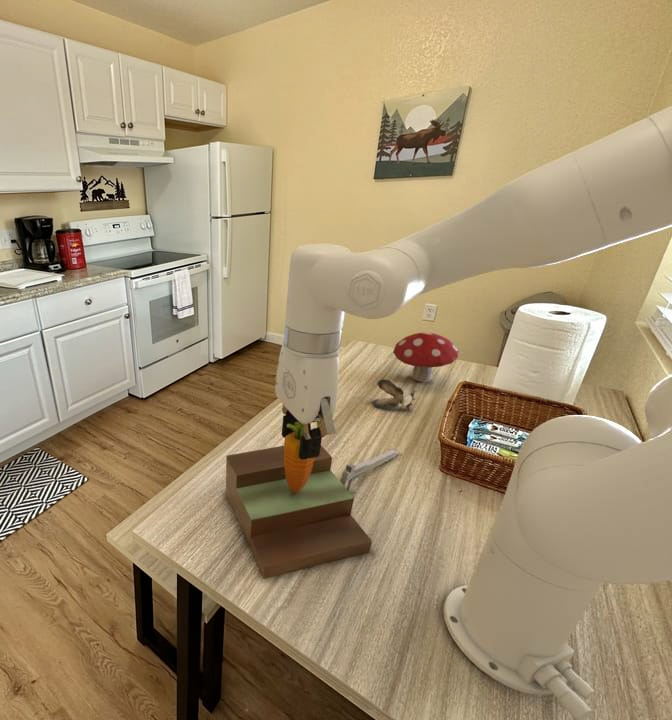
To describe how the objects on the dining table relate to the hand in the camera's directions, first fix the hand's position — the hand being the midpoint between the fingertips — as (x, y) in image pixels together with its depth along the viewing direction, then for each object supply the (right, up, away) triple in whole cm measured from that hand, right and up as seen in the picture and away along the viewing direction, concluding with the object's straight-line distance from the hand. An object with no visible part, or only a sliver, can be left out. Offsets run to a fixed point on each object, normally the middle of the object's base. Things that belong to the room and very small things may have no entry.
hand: (299, 445), depth 60 cm
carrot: (0, -9, +4) cm, 10 cm away
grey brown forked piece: (+36, +1, +40) cm, 54 cm away
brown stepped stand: (0, -15, +7) cm, 16 cm away
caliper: (+19, -10, +17) cm, 27 cm away
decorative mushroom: (+50, +7, +53) cm, 73 cm away
